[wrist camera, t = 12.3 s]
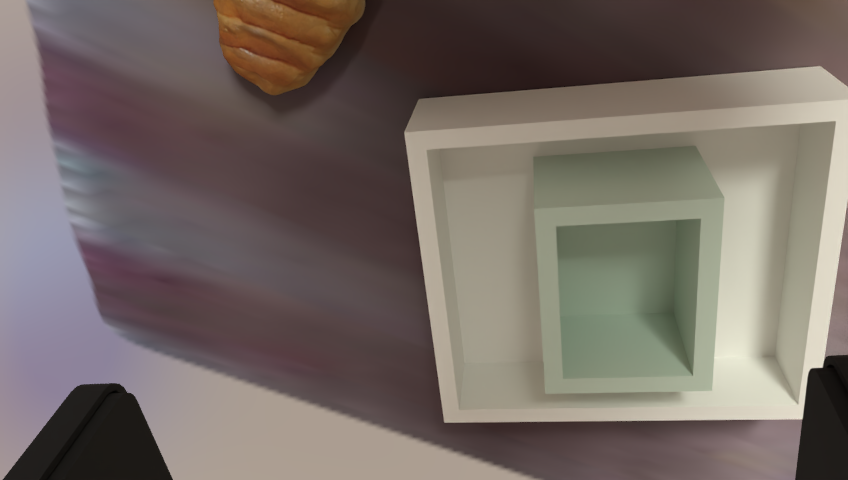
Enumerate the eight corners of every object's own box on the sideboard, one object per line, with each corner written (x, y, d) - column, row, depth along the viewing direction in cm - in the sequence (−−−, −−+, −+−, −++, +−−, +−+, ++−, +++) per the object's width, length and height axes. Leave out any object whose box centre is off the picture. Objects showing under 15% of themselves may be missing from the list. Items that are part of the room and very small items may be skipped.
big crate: (418, 99, 34) (404, 132, 30) (820, 66, 31) (862, 98, 27) (452, 366, 41) (444, 422, 37) (785, 359, 38) (815, 418, 34)
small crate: (533, 156, 34) (534, 209, 29) (695, 145, 33) (724, 198, 28) (543, 323, 38) (545, 393, 33) (688, 318, 37) (712, 390, 32)
